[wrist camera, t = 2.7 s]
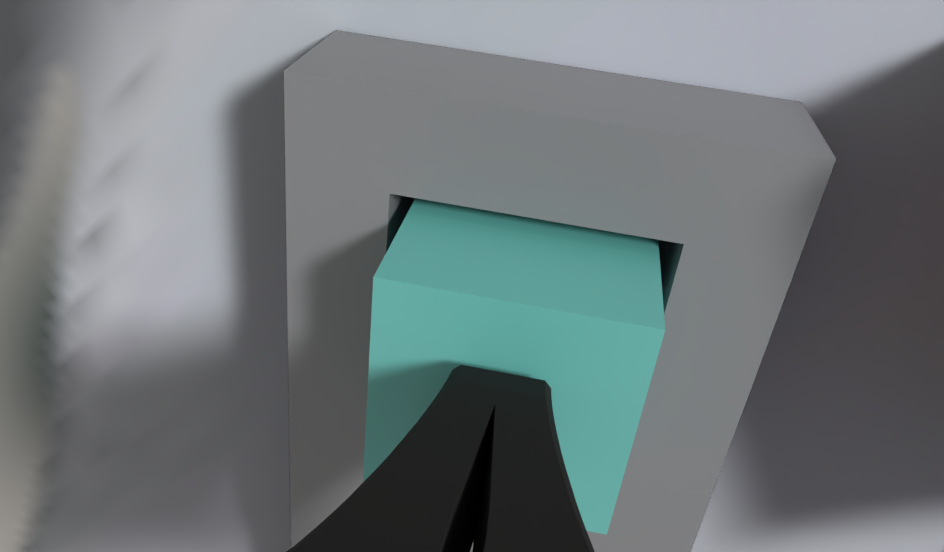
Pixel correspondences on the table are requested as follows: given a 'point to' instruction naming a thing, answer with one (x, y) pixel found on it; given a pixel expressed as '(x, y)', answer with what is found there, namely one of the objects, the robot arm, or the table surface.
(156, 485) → the table surface
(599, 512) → the teal button
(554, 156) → the button panel
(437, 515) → the robot arm
